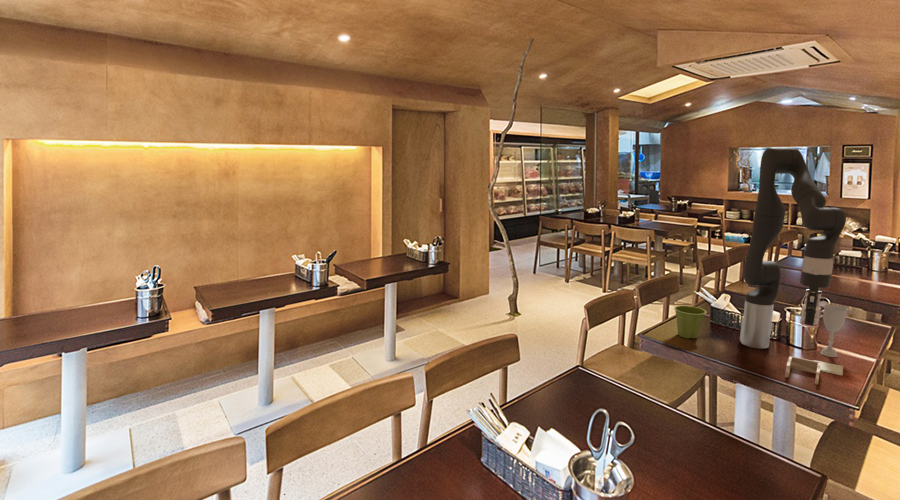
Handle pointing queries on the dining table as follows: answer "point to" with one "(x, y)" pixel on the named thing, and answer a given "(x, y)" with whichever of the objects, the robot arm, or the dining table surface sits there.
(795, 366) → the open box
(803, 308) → the pill bottle
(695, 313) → the plant pot
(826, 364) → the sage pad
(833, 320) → the chalice
